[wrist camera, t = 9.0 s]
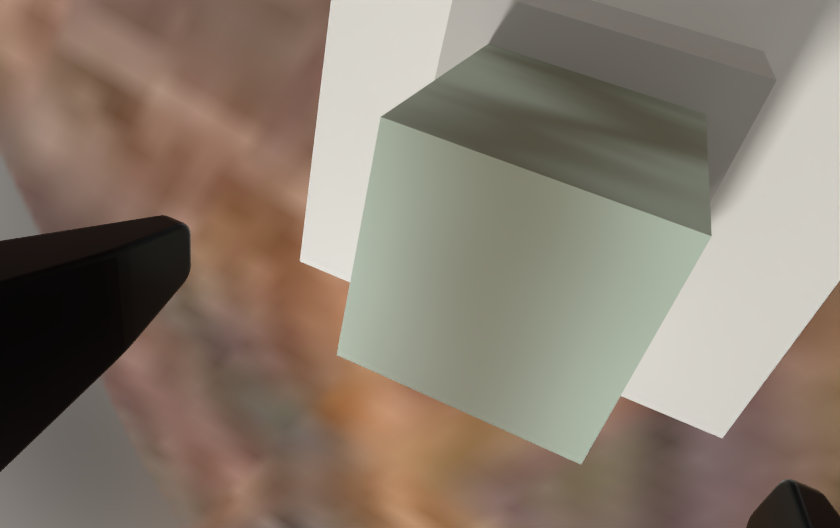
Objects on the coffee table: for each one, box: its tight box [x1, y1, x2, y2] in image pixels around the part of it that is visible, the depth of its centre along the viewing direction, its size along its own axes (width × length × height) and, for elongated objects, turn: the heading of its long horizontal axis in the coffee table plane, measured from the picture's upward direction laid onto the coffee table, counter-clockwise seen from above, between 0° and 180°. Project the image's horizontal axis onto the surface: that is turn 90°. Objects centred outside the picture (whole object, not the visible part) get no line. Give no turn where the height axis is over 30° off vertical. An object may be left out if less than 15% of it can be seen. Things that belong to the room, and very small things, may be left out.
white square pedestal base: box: [300, 0, 840, 438], centre depth 17 cm, size 16×16×4 cm
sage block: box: [337, 44, 712, 464], centre depth 13 cm, size 5×5×6 cm
